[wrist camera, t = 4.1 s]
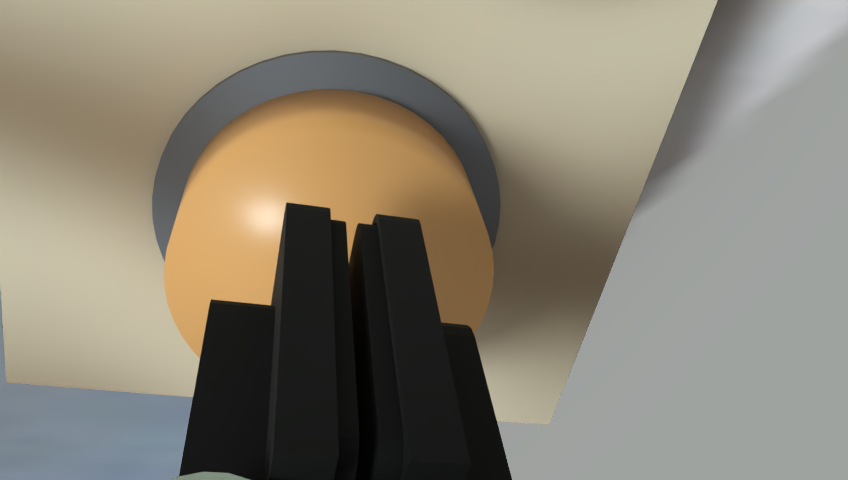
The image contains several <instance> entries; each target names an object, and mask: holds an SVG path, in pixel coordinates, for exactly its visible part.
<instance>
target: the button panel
mask: <svg viewBox="0 0 848 480" xmlns="http://www.w3.org/2000/svg"><path fill="white" fill-rule="evenodd" d="M717 1H718V0H0V286H1V302H2V318H3V334H4V350H5V366H6V382H7V383H20V384H33V385H46V386H58V387H71V388H84V389H96V390H109V391H122V392H134V393H147V394H160V395H173V396H185V397H193V395H194V390H195V384H196V378H197V373H198V367H199V361H200V358H199V357H198V356H197V355H196V354H195V353H194V352H193V351H192V349H191V348H190V347H189V345H188V344H187V343H186V341H185V340H184V339H183V337H182V335H181V334H180V332H179V330H178V328H177V326H176V324H175V322H174V320H173V318H172V315H171V312H170V309H169V306H168V303H167V298H166V293H165V287H164V264H165V257H166V250H167V246H168V243H169V240H170V236H171V233H172V230H173V226H174V223H175V220H176V216H177V213H178V210H179V206H180V203H181V200H182V196H183V193H184V190H185V186H186V183H187V180H188V177H189V174H190V172H191V170H192V168H193V166H194V164H195V162H196V160H197V158H198V157H199V155H200V154H201V152H202V151H203V149H204V148H205V147H206V145H207V144H208V142H209V141H210V140H211V139H212V138H213V137H214V136H215V135H216V134H217V133H218V132H219V131H220V130H221V129H222V128H223V127H224V126H226V125H227V124H228V123H229V122H231V121H232V120H233V119H234V118H236V117H237V116H239V115H241V114H242V113H244V112H246V111H247V110H249V109H251V108H252V107H254V106H256V105H259V104H261V103H263V102H266V101H268V100H270V99H273V98H276V97H280V96H283V95H287V94H291V93H295V92H302V91H308V90H321V89H338V90H348V91H357V92H361V93H366V94H370V95H375V96H378V97H381V98H383V99H386V100H389V101H392V102H394V103H396V104H398V105H400V106H402V107H404V108H406V109H408V110H410V111H412V112H413V113H415V114H416V115H418V116H419V117H421V118H422V119H423V120H425V121H426V122H428V123H429V124H430V125H431V126H432V127H433V128H434V129H435V130H437V131H438V132H439V133H440V134H441V135H442V136H443V137H444V139H445V140H446V141H447V142H448V144H449V145H450V146H451V147H452V148H453V150H454V151H455V153H456V155H457V156H458V158H459V160H460V161H461V163H462V165H463V167H464V170H465V172H466V174H467V177H468V179H469V182H470V185H471V188H472V190H473V193H474V196H475V199H476V202H477V204H478V207H479V210H480V213H481V215H482V218H483V221H484V224H485V227H486V229H487V232H488V235H489V239H490V243H491V248H492V252H493V264H494V276H493V288H492V292H491V296H490V300H489V304H488V307H487V309H486V312H485V314H484V317H483V320H482V321H481V323H480V325H479V327H478V328H477V330H476V332H475V334H474V336H475V339H476V343H477V347H478V350H479V354H480V358H481V362H482V366H483V370H484V374H485V378H486V381H487V385H488V389H489V393H490V397H491V401H492V405H493V409H494V412H495V416H496V420H497V421H503V422H516V423H529V424H541V425H549V424H550V422H551V419H552V417H553V414H554V412H555V409H556V406H557V404H558V401H559V399H560V396H561V394H562V391H563V389H564V386H565V384H566V381H567V379H568V376H569V374H570V371H571V369H572V366H573V364H574V361H575V359H576V356H577V354H578V351H579V349H580V346H581V344H582V341H583V339H584V336H585V334H586V331H587V328H588V326H589V323H590V321H591V318H592V316H593V313H594V311H595V308H596V306H597V303H598V301H599V298H600V296H601V293H602V291H603V288H604V285H605V283H606V281H607V278H608V276H609V273H610V271H611V268H612V266H613V263H614V260H615V258H616V255H617V253H618V250H619V248H620V245H621V243H622V240H623V238H624V235H625V233H626V230H627V228H628V225H629V223H630V220H631V218H632V215H633V213H634V210H635V208H636V205H637V203H638V200H639V198H640V195H641V193H642V190H643V187H644V185H645V182H646V180H647V177H648V175H649V172H650V170H651V167H652V165H653V162H654V160H655V157H656V155H657V152H658V150H659V147H660V145H661V142H662V140H663V137H664V135H665V132H666V130H667V127H668V125H669V122H670V120H671V117H672V114H673V112H674V109H675V107H676V104H677V102H678V99H679V97H680V94H681V92H682V89H683V87H684V84H685V82H686V79H687V77H688V74H689V72H690V69H691V67H692V64H693V62H694V59H695V57H696V54H697V52H698V49H699V46H700V44H701V41H702V39H703V36H704V34H705V31H706V29H707V26H708V24H709V21H710V19H711V16H712V14H713V11H714V9H715V6H716V4H717Z"/></svg>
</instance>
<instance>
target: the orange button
mask: <svg viewBox="0 0 848 480" xmlns="http://www.w3.org/2000/svg"><path fill="white" fill-rule="evenodd" d="M287 202H288V203H295V204H303V205H311V206H319V207H327V208H330V211H331V220H339V221H345V222H346V229H347V245H348V260H350V255H351V250H352V245H353V240H354V236H355V231H356V228H357V225H358V223H363V224H371V225H372V222H373V219H374V217H375V215H376V214H381V215H389V216H397V217H405V218H412V219H418V220H419V221H420V223H421V228H422V232H423V237H424V242H425V247H426V252H427V256H428V261H429V266H430V271H431V275H432V280H433V285H434V290H435V295H436V299H437V304H438V309H439V314H440V318H441V322H442V323H452V324H462V325H468V326H469V327H470V328H472V331H473V333H474V334H475V332H476V330H477V328H478V327H479V325H480V323H481V321H482V320H483V317H484V314H485V312H486V309H487V307H488V304H489V300H490V296H491V292H492V288H493V276H494V264H493V252H492V248H491V243H490V239H489V235H488V232H487V229H486V227H485V224H484V221H483V218H482V215H481V213H480V210H479V207H478V204H477V202H476V199H475V196H474V193H473V190H472V188H471V185H470V182H469V179H468V177H467V174H466V172H465V170H464V167H463V165H462V163H461V161H460V160H459V158H458V156H457V155H456V153H455V151H454V150H453V148H452V147H451V146H450V145H449V144H448V142H447V141H446V140H445V139H444V137H443V136H442V135H441V134H440V133H439V132H438V131H437V130H435V129H434V128H433V127H432V126H431V125H430V124H429V123H428V122H426V121H425V120H423V119H422V118H421V117H419V116H418V115H416V114H415V113H413V112H412V111H410V110H408V109H406V108H404V107H402V106H400V105H398V104H396V103H394V102H392V101H389V100H386V99H383V98H381V97H378V96H375V95H370V94H366V93H361V92H357V91H348V90H338V89H321V90H308V91H302V92H295V93H291V94H287V95H283V96H280V97H276V98H273V99H270V100H268V101H266V102H263V103H261V104H259V105H256V106H254V107H252V108H251V109H249V110H247V111H246V112H244V113H242V114H241V115H239V116H237V117H236V118H234V119H233V120H232V121H231V122H229V123H228V124H227V125H226V126H224V127H223V128H222V129H221V130H220V131H219V132H218V133H217V134H216V135H215V136H214V137H213V138H212V139H211V140H210V141H209V142H208V144H207V145H206V147H205V148H204V149H203V151H202V152H201V154H200V155H199V157H198V158H197V160H196V162H195V164H194V166H193V168H192V170H191V172H190V174H189V177H188V180H187V183H186V186H185V190H184V193H183V196H182V200H181V203H180V206H179V210H178V213H177V216H176V220H175V223H174V226H173V230H172V233H171V236H170V240H169V243H168V246H167V250H166V257H165V264H164V287H165V293H166V298H167V303H168V306H169V309H170V312H171V315H172V318H173V320H174V322H175V324H176V326H177V328H178V330H179V332H180V334H181V335H182V337H183V339H184V340H185V341H186V343H187V344H188V345H189V347H190V348H191V349H192V351H193V352H194V353H195V354H196V355H197V356H198V357H199V358H200V356H201V350H202V344H203V339H204V333H205V327H206V322H207V316H208V310H209V305H210V301H211V299H212V300H222V301H232V302H242V303H252V304H262V305H271V300H272V293H273V287H274V280H275V273H276V266H277V260H278V253H279V246H280V239H281V232H282V226H283V219H284V212H285V207H286V203H287Z"/></svg>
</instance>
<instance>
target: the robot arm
mask: <svg viewBox="0 0 848 480" xmlns="http://www.w3.org/2000/svg"><path fill="white" fill-rule="evenodd" d="M172 480H512V478H511V474H510V471H509V467H508V463H507V459H506V455H505V451H504V447H503V443H502V439H501V436H500V432H499V428H498V425H497V420H496V416H495V412H494V409H493V405H492V401H491V397H490V393H489V389H488V385H487V381H486V378H485V374H484V370H483V366H482V362H481V358H480V354H479V350H478V347H477V343H476V339H475V336H474V333H473V331H472V328H470V327H469V326H468V325H462V324H452V323H442V322H441V318H440V314H439V309H438V304H437V299H436V295H435V290H434V285H433V280H432V275H431V271H430V266H429V261H428V256H427V252H426V247H425V242H424V237H423V232H422V228H421V223H420V221H419V220H418V219H412V218H405V217H397V216H389V215H381V214H376V215H375V217H374V219H373V222H372V225H371V224H363V223H358V225H357V228H356V231H355V236H354V240H353V245H352V250H351V255H350V260H348V245H347V229H346V222H345V221H339V220H331V211H330V208H327V207H319V206H311V205H303V204H295V203H288V202H287V203H286V207H285V212H284V219H283V226H282V232H281V239H280V246H279V253H278V260H277V266H276V273H275V280H274V287H273V293H272V300H271V305H262V304H252V303H242V302H232V301H222V300H212V299H211V301H210V305H209V310H208V316H207V322H206V327H205V333H204V339H203V344H202V350H201V356H200V361H199V367H198V373H197V378H196V384H195V390H194V395H193V401H192V407H191V412H190V418H189V424H188V429H187V435H186V441H185V446H184V452H183V458H182V463H181V469H180V475H179V477H176V478H174V479H172Z"/></svg>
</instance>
